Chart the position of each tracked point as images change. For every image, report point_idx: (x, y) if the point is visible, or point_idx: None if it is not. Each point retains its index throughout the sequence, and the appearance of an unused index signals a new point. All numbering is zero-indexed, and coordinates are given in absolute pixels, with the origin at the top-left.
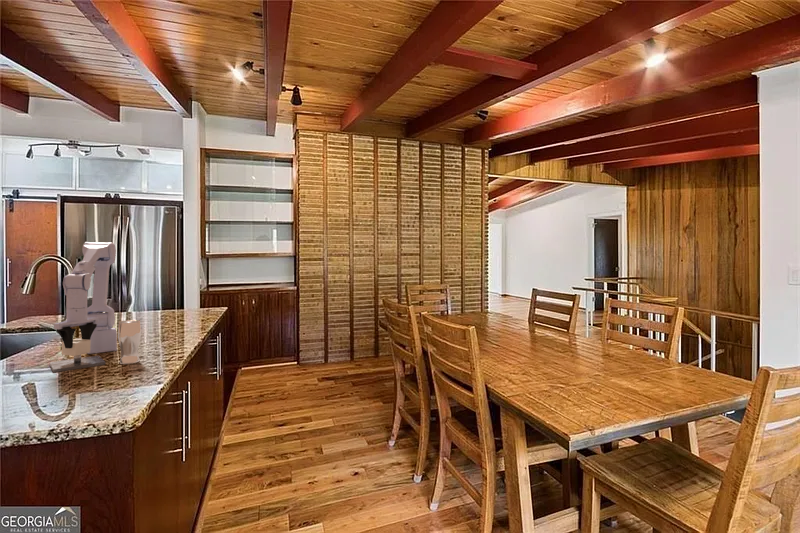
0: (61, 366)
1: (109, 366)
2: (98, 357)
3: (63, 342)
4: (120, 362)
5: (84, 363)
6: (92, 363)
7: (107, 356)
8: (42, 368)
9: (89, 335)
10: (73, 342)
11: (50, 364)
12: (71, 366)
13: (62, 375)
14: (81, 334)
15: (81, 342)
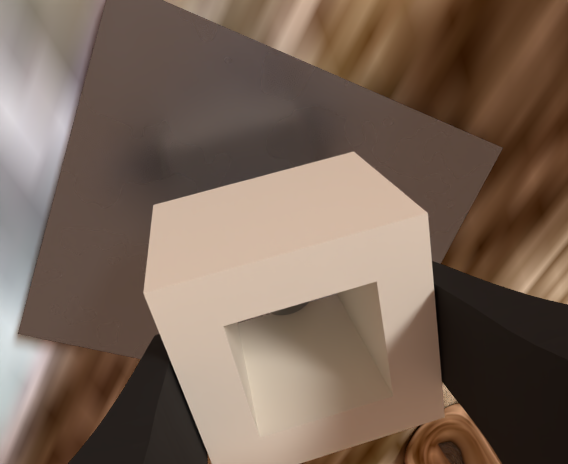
0: (107, 283)
1: (336, 452)
2: (446, 223)
3: (154, 318)
4: (409, 457)
5: None
6: None
7: (556, 141)
8: (14, 67)
9: (491, 431)
10: (228, 438)
11: (86, 77)
12: None
13: (39, 446)
14: (485, 313)
15: (308, 450)
